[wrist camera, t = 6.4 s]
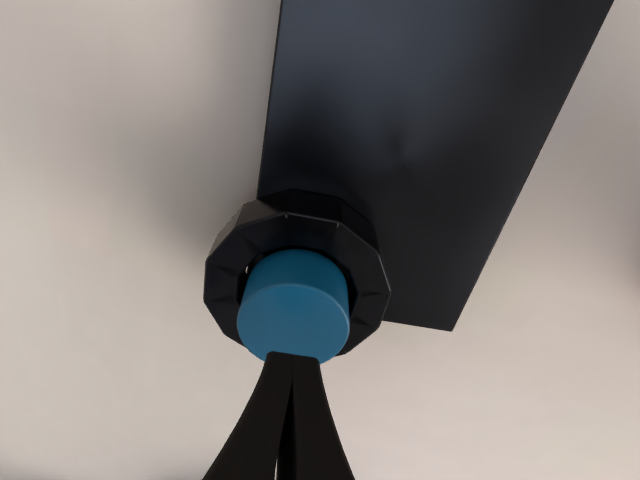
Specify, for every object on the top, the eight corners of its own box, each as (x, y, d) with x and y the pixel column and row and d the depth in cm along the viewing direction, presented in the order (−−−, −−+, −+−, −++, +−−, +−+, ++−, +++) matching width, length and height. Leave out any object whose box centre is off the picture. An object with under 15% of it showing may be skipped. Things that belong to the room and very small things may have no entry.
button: (335, 333, 16) (336, 376, 14) (242, 319, 15) (231, 361, 14) (357, 257, 14) (362, 295, 12) (252, 239, 14) (241, 275, 12)
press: (431, 319, 20) (453, 386, 16) (222, 285, 19) (199, 348, 16) (598, -57, 12) (704, -78, 9) (261, -142, 11) (232, -203, 8)
